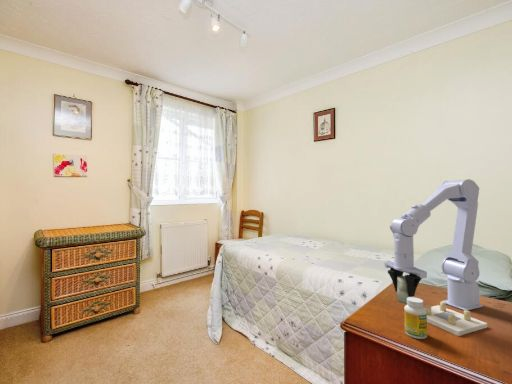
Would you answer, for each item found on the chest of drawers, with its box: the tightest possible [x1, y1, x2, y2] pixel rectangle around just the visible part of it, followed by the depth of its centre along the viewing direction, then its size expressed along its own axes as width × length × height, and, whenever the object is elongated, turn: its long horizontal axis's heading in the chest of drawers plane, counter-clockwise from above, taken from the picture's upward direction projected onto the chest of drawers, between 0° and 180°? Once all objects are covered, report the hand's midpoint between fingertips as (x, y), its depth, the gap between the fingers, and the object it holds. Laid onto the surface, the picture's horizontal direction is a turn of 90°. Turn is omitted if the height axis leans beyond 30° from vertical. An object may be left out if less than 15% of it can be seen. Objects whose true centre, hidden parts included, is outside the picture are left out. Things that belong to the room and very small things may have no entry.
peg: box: [396, 275, 409, 305], centre depth 89 cm, size 4×4×8 cm
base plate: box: [424, 301, 488, 337], centre depth 80 cm, size 13×14×4 cm
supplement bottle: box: [403, 296, 428, 340], centre depth 72 cm, size 5×5×10 cm
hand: (404, 293), depth 89 cm, fingers closed on peg, 4 cm apart
